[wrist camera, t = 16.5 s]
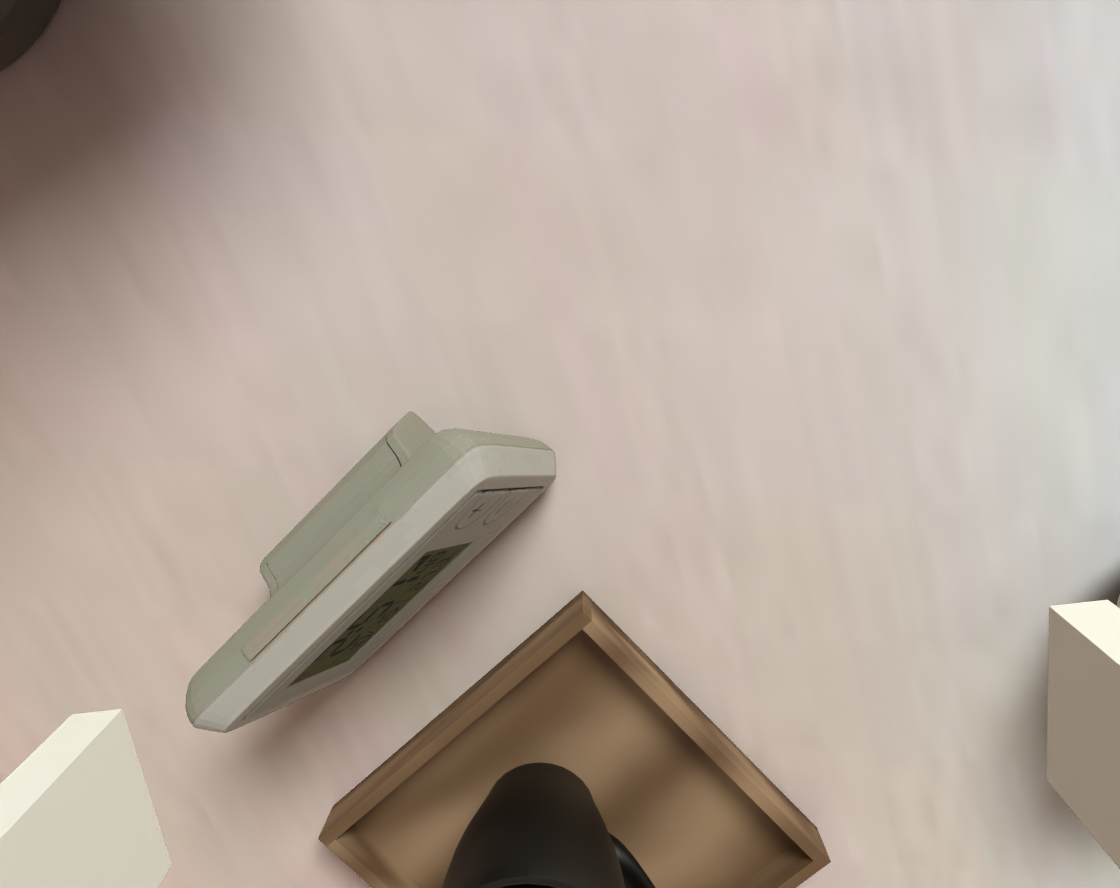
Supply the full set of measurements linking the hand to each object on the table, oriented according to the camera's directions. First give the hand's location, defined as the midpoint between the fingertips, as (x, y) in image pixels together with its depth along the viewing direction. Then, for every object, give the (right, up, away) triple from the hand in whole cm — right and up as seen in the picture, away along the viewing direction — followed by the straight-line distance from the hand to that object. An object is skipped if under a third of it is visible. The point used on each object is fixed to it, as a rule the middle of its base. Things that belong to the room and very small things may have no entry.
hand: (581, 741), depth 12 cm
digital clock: (-7, 0, +29) cm, 30 cm away
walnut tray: (0, -15, +32) cm, 35 cm away
